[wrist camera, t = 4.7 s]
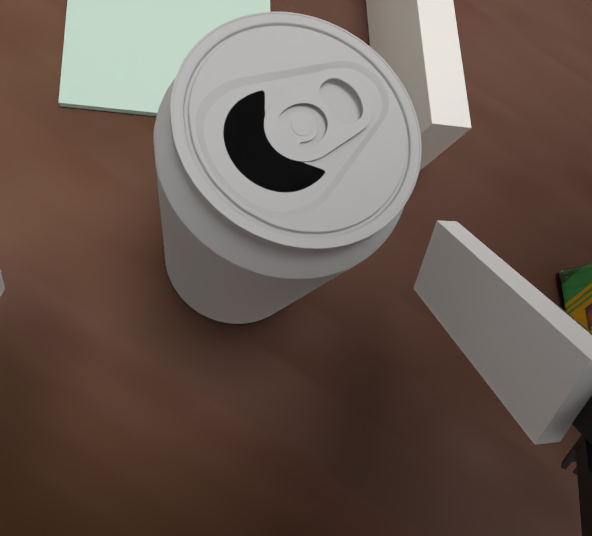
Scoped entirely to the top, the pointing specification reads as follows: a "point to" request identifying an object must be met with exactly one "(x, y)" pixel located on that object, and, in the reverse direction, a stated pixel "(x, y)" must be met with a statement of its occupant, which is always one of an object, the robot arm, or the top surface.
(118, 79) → the pad
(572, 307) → the chalk box
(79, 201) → the top surface
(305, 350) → the top surface
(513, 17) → the top surface
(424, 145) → the corner arena
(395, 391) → the top surface
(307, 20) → the beverage can
